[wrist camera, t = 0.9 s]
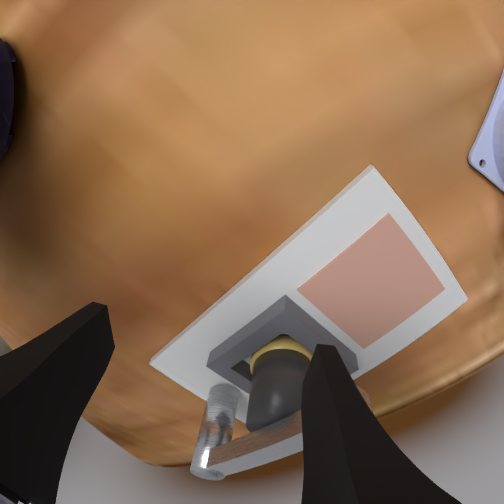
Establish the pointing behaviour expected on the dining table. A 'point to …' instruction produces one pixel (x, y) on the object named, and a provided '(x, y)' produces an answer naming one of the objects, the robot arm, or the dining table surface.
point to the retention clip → (242, 438)
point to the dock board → (302, 299)
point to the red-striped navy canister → (6, 96)
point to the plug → (276, 381)
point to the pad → (373, 283)
